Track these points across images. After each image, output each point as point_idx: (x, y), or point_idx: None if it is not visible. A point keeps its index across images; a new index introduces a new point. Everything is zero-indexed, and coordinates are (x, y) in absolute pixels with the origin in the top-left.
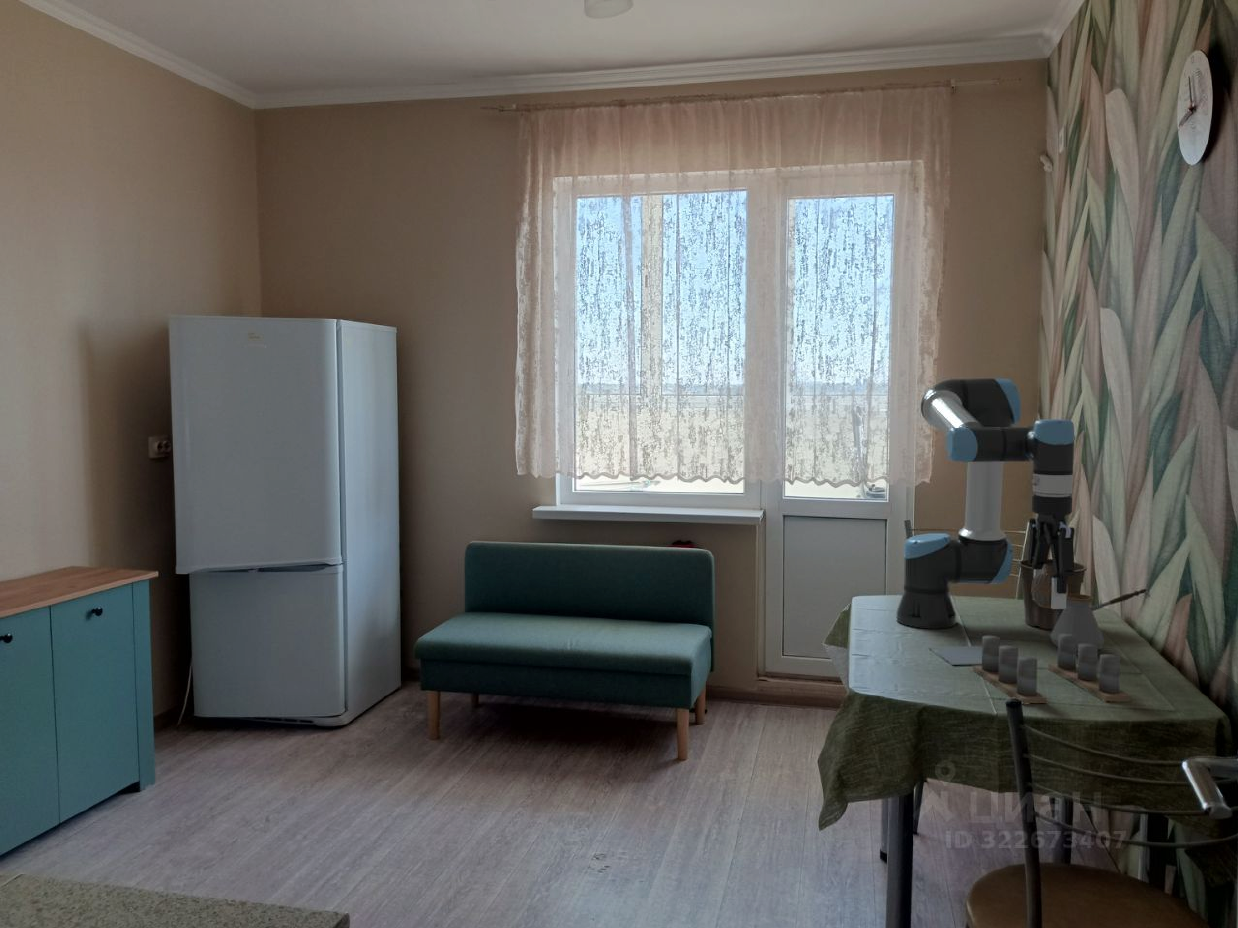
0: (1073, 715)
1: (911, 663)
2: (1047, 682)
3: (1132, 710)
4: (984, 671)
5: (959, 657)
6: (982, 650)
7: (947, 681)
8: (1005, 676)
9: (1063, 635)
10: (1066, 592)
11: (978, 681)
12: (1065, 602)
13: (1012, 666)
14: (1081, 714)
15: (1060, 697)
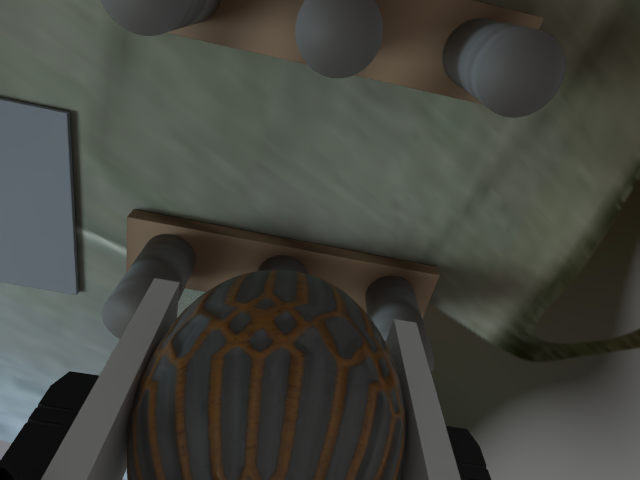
0: (531, 261)
1: (49, 364)
2: (279, 139)
3: (594, 81)
4: (187, 282)
5: (3, 241)
6: None
7: None
8: None
9: (131, 3)
10: (393, 365)
11: None
12: (422, 353)
13: None
14: (536, 240)
15: (410, 199)
